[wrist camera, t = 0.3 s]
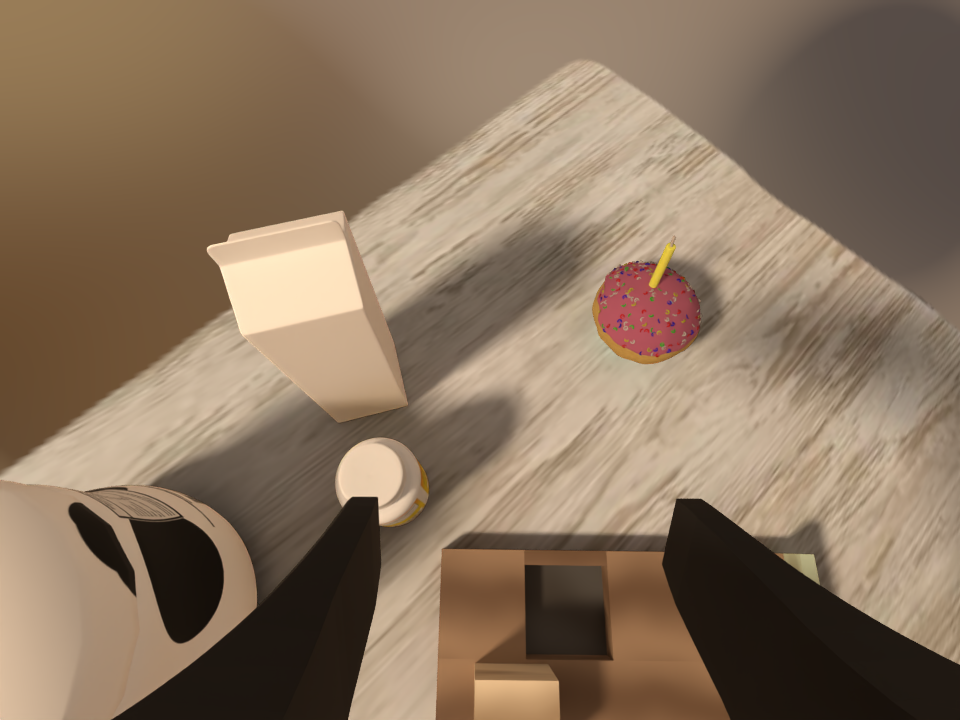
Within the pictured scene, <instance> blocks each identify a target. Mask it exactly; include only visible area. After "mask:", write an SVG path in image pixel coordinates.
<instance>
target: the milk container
mask: <svg viewBox="0 0 960 720" xmlns="http://www.w3.org/2000/svg"><path fill="white" fill-rule="evenodd" d="M256 607H257V588H256V579H255V574H254V569H253V565H252V562H251V559H250V556H249V554H248V551H247V549H246V547H245V545H244V543H243V541H242V539H241V538H240V536H239V535H238V533H237V532H236V531H235V529H234V528H233V527H232V526H231V524H230V523H229V522H228V521H227V520H226V519H225V518H223V517H222V516H221V515H220V514H218V513H217V512H216V511H215V510H213V509H212V508H210V507H209V506H207V505H206V504H204V503H202V502H200V501H198V500H196V499H195V498H192V497H190V496H187V495H185V494H182V493H180V492H177V491H173V490H170V489H165V488H160V487H154V486H144V485H121V486H111V487H105V488H99V489H94V490H89V491H85V492H83V491H78V490H72V489H67V488H61V487H55V486H48V485H25V484H21V483H16V482H11V481H4V480H0V720H111V719H113V718H114V717H116V716H118V715H119V714H121V713H122V712H124V711H125V710H127V709H128V708H130V707H131V706H133V705H134V704H136V703H137V702H139V701H140V700H142V699H143V698H145V697H146V696H147V695H149V694H150V693H152V692H153V691H155V690H156V689H157V688H159V687H160V686H162V685H163V684H164V683H166V682H167V681H168V680H170V679H171V678H173V677H174V676H175V675H177V674H178V673H179V672H181V671H182V670H183V669H185V668H186V667H188V666H189V665H190V664H191V663H193V662H194V661H195V660H196V659H198V658H199V657H200V656H201V655H203V654H204V653H205V652H206V651H208V650H209V649H210V648H211V647H212V646H214V645H215V644H216V643H217V642H218V641H219V640H221V639H222V638H223V637H224V636H225V635H226V634H228V633H229V632H230V631H231V630H232V629H234V628H235V627H236V626H237V625H238V624H239V623H240V622H241V621H242V620H243V619H245V618H246V617H247V616H248V615H249V614H250V613H251V612H252V611H253V610H254V609H255V608H256Z"/></svg>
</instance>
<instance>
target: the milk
mask: <svg viewBox="0 0 960 720" xmlns="http://www.w3.org/2000/svg"><path fill="white" fill-rule="evenodd" d="M207 252H208V254H209V255H210V256H211V257H212V258H213V259H214V261H215V262H216V263H217V264H218V265H219V266H220V269H221V272H222V275H223V278H224V281H225V285H226V288H227V291H228V294H229V297H230V300H231V304H232V307H233V310H234V313H235V316H236V319H237V322H238V326H239V329H240V332H241V334H242V336H243V337H244V338H246V339H247V340H248V341H249V342H250V343H251V344H252V345H253V346H254V347H255V348H257V349H258V350H259V351H260V352H261V353H262V354H263V355H264V356H265V357H266V358H267V359H269V360H270V361H271V362H272V363H273V364H274V365H275V366H276V367H277V368H278V369H280V370H281V371H282V372H283V373H284V374H285V375H286V376H287V377H288V378H289V379H291V380H292V381H293V382H294V383H295V384H296V385H297V386H298V387H299V388H300V389H302V390H303V391H304V392H305V393H306V394H307V395H308V396H309V397H310V398H311V399H313V400H314V401H315V402H316V403H317V404H318V405H319V406H320V407H321V408H322V409H323V410H325V411H326V412H327V413H328V414H329V415H330V416H331V417H332V418H333V419H334V420H336V421H337V422H338V423H341V422H345V421H349V420H353V419H357V418H361V417H365V416H369V415H373V414H377V413H381V412H385V411H389V410H393V409H397V408H401V407H405V406H408V402H407V397H406V393H405V389H404V384H403V380H402V375H401V371H400V367H399V362H398V358H397V353H396V349H395V345H394V341H393V339H392V336H391V333H390V331H389V328H388V326H387V323H386V320H385V318H384V315H383V313H382V310H381V307H380V305H379V302H378V300H377V297H376V294H375V292H374V289H373V286H372V284H371V281H370V279H369V276H368V273H367V271H366V268H365V266H364V263H363V260H362V258H361V255H360V253H359V250H358V247H357V245H356V242H355V240H354V237H353V234H352V232H351V229H350V227H349V224H348V221H347V219H346V216H345V214H344V211H338V212H334V213H329V214H324V215H320V216H314V217H310V218H305V219H300V220H295V221H290V222H286V223H281V224H276V225H271V226H267V227H262V228H257V229H252V230H247V231H243V232H238V233H233V234H230V235H229V238H228V241H227V242H224V243H219V244H214V245H211V246H209V247H208V248H207Z"/></svg>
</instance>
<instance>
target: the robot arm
mask: <svg viewBox="0 0 960 720" xmlns="http://www.w3.org/2000/svg"><path fill="white" fill-rule="evenodd" d="M662 566H663V569H664V572H665V575H666V579H667V582H668V585H669V588H670V590H671V593H672V596H673V599H674V602H675V605H676V607H677V609H678V611H679V613H680V615H681V617H682V620H683V622H684V624H685V626H686V628H687V630H688V632H689V634H690V636H691V638H692V640H693V642H694V644H695V646H696V648H697V651H698V653H699V655H700V657H701V659H702V661H703V663H704V665H705V667H706V669H707V671H708V673H709V675H710V677H711V679H712V681H713V683H714V685H715V687H716V689H717V691H718V693H719V695H720V697H721V699H722V702H723V704H724V706H725V708H726V711H727V713H728V715H729V717H730V720H960V665H959V664H957V663H955V662H953V661H951V660H949V659H947V658H945V657H943V656H941V655H939V654H937V653H935V652H933V651H931V650H929V649H927V648H926V647H924V646H922V645H920V644H918V643H916V642H914V641H912V640H910V639H909V638H907V637H905V636H903V635H901V634H899V633H898V632H896V631H894V630H892V629H890V628H889V627H887V626H885V625H883V624H882V623H880V622H878V621H876V620H875V619H873V618H871V617H870V616H868V615H866V614H865V613H863V612H861V611H860V610H858V609H856V608H855V607H853V606H851V605H850V604H848V603H847V602H845V601H843V600H842V599H840V598H839V597H837V596H835V595H834V594H832V593H831V592H829V591H828V590H826V589H825V588H823V587H822V586H820V585H819V584H817V583H816V582H815V581H813V580H812V579H810V578H809V577H807V576H806V575H804V574H803V573H801V572H800V571H798V570H797V569H796V568H794V567H793V566H791V565H790V564H789V563H787V562H786V561H784V560H783V559H782V558H780V557H779V556H777V555H776V554H775V553H773V552H772V551H771V550H769V549H768V548H767V547H765V546H764V545H763V544H761V543H760V542H759V541H757V540H756V539H755V538H753V537H752V536H751V535H749V534H748V533H747V532H745V531H744V530H743V529H742V528H740V527H739V526H738V525H736V524H735V523H734V522H732V521H731V520H730V519H728V518H727V517H726V516H724V515H723V514H722V513H720V512H719V511H718V510H716V509H715V508H714V507H712V506H711V505H709V504H708V503H707V502H705V501H704V500H702V499H676V503H675V508H674V512H673V517H672V521H671V525H670V530H669V534H668V539H667V543H666V548H665V552H664V556H663V561H662ZM380 569H381V549H380V527H379V505H378V497H351V498H350V499H349V500H348V501H347V502H346V504H345V505H344V506H343V508H342V509H341V511H340V512H339V513H338V515H337V516H336V517H335V519H334V520H333V521H332V523H331V524H330V525H329V527H328V528H327V529H326V531H325V532H324V533H323V534H322V536H321V537H320V538H319V539H318V541H317V542H316V543H315V544H314V545H313V547H312V548H311V549H310V550H309V552H308V553H307V554H306V555H305V556H304V558H303V559H302V560H301V561H300V562H299V563H298V564H297V566H296V567H295V568H294V569H293V570H292V571H291V572H290V573H289V574H288V575H287V576H286V578H285V579H284V580H283V581H282V582H281V583H280V584H279V585H278V586H277V587H276V588H275V589H274V590H273V591H272V592H271V594H270V595H269V596H268V597H267V598H266V599H265V600H264V601H263V602H262V603H260V604H259V605H258V606H257V607H256V608H255V609H254V610H253V611H252V612H251V613H250V614H249V615H248V616H247V617H246V618H245V619H243V620H242V621H241V622H240V623H239V624H238V625H237V626H236V627H235V628H234V629H232V630H231V631H230V632H229V633H228V634H226V635H225V636H224V637H223V638H222V639H221V640H219V641H218V642H217V643H216V644H215V645H214V646H212V647H211V648H210V649H209V650H208V651H206V652H205V653H204V654H203V655H201V656H200V657H199V658H198V659H196V660H195V661H194V662H193V663H191V664H190V665H189V666H188V667H186V668H185V669H183V670H182V671H181V672H179V673H178V674H177V675H175V676H174V677H173V678H171V679H170V680H168V681H167V682H166V683H164V684H163V685H162V686H160V687H159V688H157V689H156V690H155V691H153V692H152V693H150V694H149V695H147V696H146V697H145V698H143V699H142V700H140V701H139V702H137V703H136V704H134V705H133V706H131V707H130V708H128V709H127V710H125V711H124V712H122V713H121V714H119V715H118V716H116V717H114V718H113V719H111V720H348V717H349V712H350V707H351V703H352V699H353V695H354V691H355V687H356V683H357V679H358V675H359V671H360V667H361V663H362V659H363V655H364V651H365V647H366V643H367V639H368V635H369V631H370V627H371V623H372V619H373V614H374V610H375V606H376V599H377V592H378V585H379V577H380Z"/></svg>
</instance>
